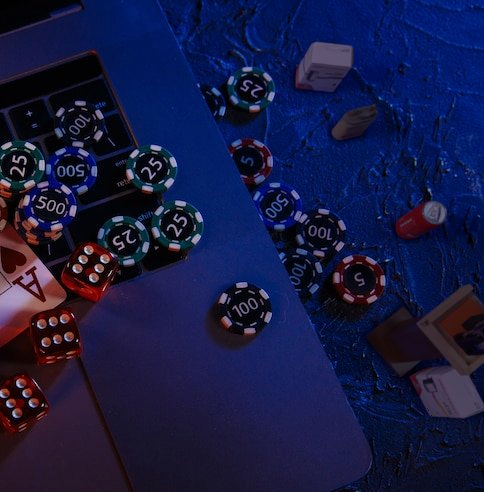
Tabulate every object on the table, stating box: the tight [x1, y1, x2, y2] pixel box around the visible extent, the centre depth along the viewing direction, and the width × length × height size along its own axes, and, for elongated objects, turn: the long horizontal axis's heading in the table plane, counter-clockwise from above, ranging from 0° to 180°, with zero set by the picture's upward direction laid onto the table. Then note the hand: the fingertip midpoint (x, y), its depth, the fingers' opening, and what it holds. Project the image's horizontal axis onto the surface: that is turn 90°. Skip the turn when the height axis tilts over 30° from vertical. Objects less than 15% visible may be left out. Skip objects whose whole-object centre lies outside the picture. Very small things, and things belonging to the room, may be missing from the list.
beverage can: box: [395, 200, 448, 241], centre depth 123 cm, size 5×5×12 cm
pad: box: [439, 298, 484, 355], centre depth 97 cm, size 6×6×7 cm
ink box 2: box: [408, 364, 484, 419], centre depth 115 cm, size 9×5×12 cm, turn 22°
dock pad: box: [416, 283, 484, 376], centre depth 100 cm, size 10×10×2 cm
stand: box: [364, 306, 446, 378], centre depth 112 cm, size 10×10×23 cm
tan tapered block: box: [331, 103, 379, 141], centre depth 129 cm, size 7×4×10 cm, turn 105°
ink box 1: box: [295, 41, 355, 93], centre depth 131 cm, size 9×5×12 cm, turn 83°
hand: (476, 326), depth 98 cm, fingers open, 7 cm apart
